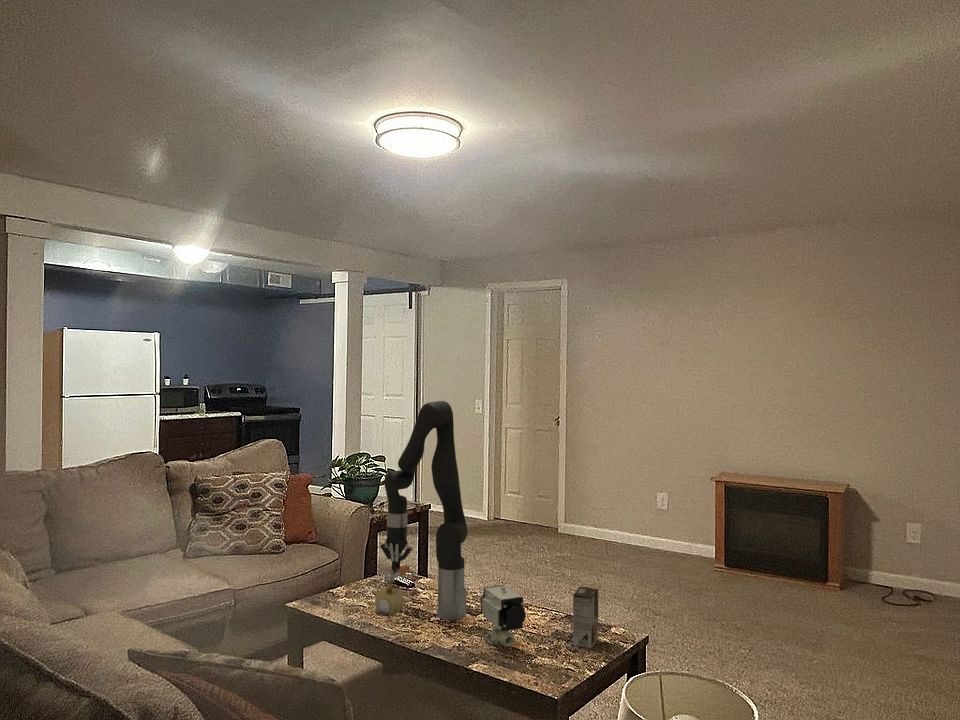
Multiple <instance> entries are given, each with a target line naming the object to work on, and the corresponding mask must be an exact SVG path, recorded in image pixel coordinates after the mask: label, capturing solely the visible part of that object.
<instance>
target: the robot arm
mask: <svg viewBox="0 0 960 720" xmlns="http://www.w3.org/2000/svg"><path fill="white" fill-rule="evenodd" d="M433 429H435V430H436V446H435V450H434V453H433V455H432V459H431V475H432V481H433V483H432V484H433V486H434V489H435V492H436V494H437V496H438V498H439V500H440V502H441V506H442V512H443V523H442V524H440V525H439V526H438V528H437V530H436V533H435V554H436V561H437V617H438V618H439V619H441V620H447V621H459V620H461V619H462V618H465V616H467V587H465V564H466V563H465V558H464V557H463V556H462V544H463V543H464V542H465V541H466V540H467V536H468V533H469V532H468V525H467V522H466V517H465V513H464V509H463V504H462V495H461V486H460V476H459V475H460V474H459V468H458V464H457V455H456V446H455V432H454V429H455V427H454V412H453V409H452V406H451V404H450V403H449V402H447V401H445V400H439V401H438V400H437V401H431V402H430V401H429V402H426V403H425V404H423V405H422V406H421V407H420V409H419V411H418V415H417V417H416V421H415V422H414V427H413V429H412V431H411V435H410V438H409V439H408V442H407V444H406V446H405V448H404V449H403V452H402V453H401V455H400V457H399V459H398V461H397V466H398V468H399V470H393V471H389V472H387V473H386V475H385V476H384V479H383V480H384V481H383V482H384V483H383V485H384V489H385V494H386V498H387V501H388V502H387V505H388V506H387V516H386V518H387V519H386V540H385V542H384V543H382V544H380V548H381V550H382V551H383V553H384V555H385V557H386V559H388V560H390V561H391V570H392V572H394V571H396V569H397V568H399V567H401V562H402V561H404V560H406V559H407V558H408V556H409V555H410V553H411V552H412V551H413V547H412V546H410V545H409V544H408V543H409V542H408V540H407V538H408V499H407V497H406V496H405V495H400V490H405V489H408V488H409V487H410V486H412V484H413V482H414V479H415V475H416V469H417V467H418V466H419V464H420V462H421V460H422V458H423V456H424V453H425V442H426V438H427V436H428V435H430V433H431V431H432V430H433ZM403 551H404V552H403Z"/></svg>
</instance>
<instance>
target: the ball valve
mask: <svg viewBox="0 0 960 720" xmlns="http://www.w3.org/2000/svg"><path fill="white" fill-rule="evenodd" d="M480 613H481V614H483V618H485V619H486V620H487V621H489V623H491V624H492V625H493V626H492V628H491V630H488V631H487V634H486V639H487V642H488V644H490V645H493V646H496V645H497V646H498V645H502V646H503V647H505V648H508V647H512V646H513V645H514V642H515V637H514V634H513V633H512V632H511V631H513V630H519V629H523V628H524V623H525V620H526V610H525V608H524V597H523V596H521V595H520V594H518V593H517V592H515V591H513V590H512V589H510V588H509V587H507V586H506V585H504V584H501V585H494V586H493V585H492V586H487V587H483V594H482V596H481V597H480Z"/></svg>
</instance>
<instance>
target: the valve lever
mask: <svg viewBox="0 0 960 720" xmlns="http://www.w3.org/2000/svg"><path fill="white" fill-rule="evenodd" d="M409 572H410V564H409V565H408V564H403V565H400V567H399V568H397V569H396V571H392V572H385V573H384V582H385V583H387V582H388V583H391V582H392V583H394V582H395V579H396V578H399V577H401V576H404V575H406V574H407V573H409Z"/></svg>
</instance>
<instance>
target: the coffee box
mask: <svg viewBox="0 0 960 720" xmlns="http://www.w3.org/2000/svg"><path fill="white" fill-rule="evenodd" d="M572 596H573V598H572V599H573V600H572V601H573V605H572V607H573V609H572V610H573V611H572V613H573V615H572V645H573V646H577V647H582V648H588V649H592V648H593V647H594V645H595V643H596V642H597V640H598V639H599V589H598V588H592V587H587V586H586V587H585V586H579V587H578V589H577V590H576V591H575V592H574V593H573V595H572Z"/></svg>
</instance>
